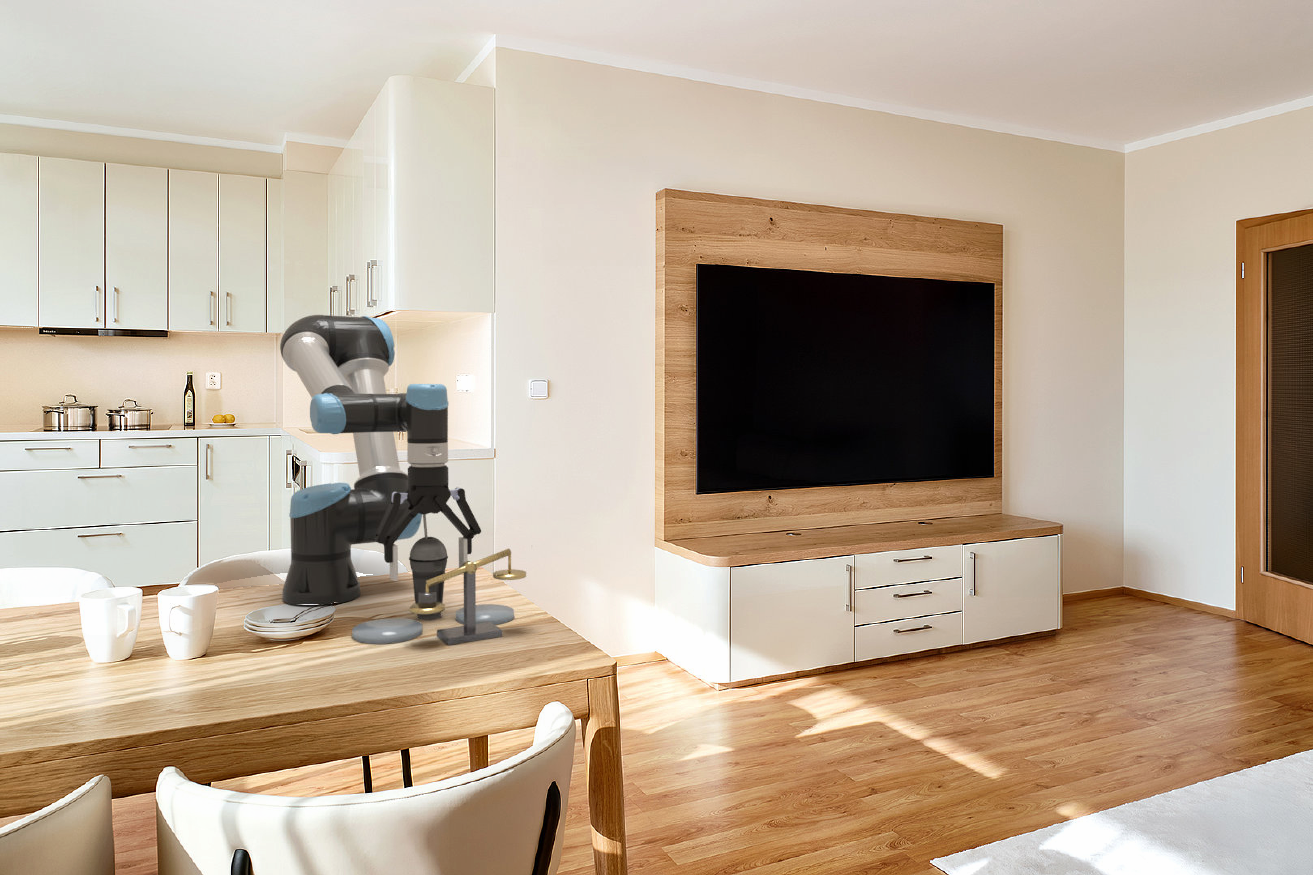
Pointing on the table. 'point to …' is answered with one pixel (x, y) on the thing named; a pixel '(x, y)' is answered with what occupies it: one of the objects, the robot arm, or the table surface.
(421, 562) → the beverage cup
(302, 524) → the robot arm
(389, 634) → the grey flat disc
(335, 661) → the table surface
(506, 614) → the dish light side
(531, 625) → the table surface
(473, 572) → the balance
